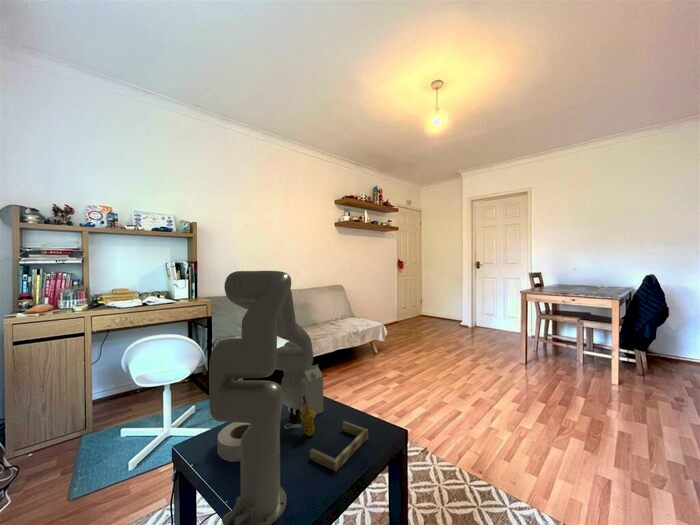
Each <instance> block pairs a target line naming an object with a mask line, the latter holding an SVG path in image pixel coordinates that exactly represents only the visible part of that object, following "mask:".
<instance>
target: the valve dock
mask: <svg viewBox="0 0 700 525" xmlns="http://www.w3.org/2000/svg"><path fill="white" fill-rule="evenodd" d="M342 431H343V432H346V433H348V434H351V435H353V436H356V437H355V438H354V439H353V440H352V441H351V442H350V443H349V444H348V446H346V448H344V449H343V450H342V451H341V452H340V453H339V454H338V455H337V456H336V458H335V457H333V456H330V455H329V454H326V453H324V452H322V451H320V450H319V449H318V450H317V449H315V448H311V449H310V450H309V459H310V460H311V461H312V462H315V463H317V464H320V465H322V466H323V467H326V468H328V470H331V471H333V472H335V473H336V472H338V470H340V468H342V466H343V465H345V463H346V462H347V461H348V460H350V459H351V457H352V456H354V454H355V453H356V452H357V451H358V450H359V449H360V448H361V446H363V444H364V443H365V442H366V441H367V440H368V439H369V429H367V428H365V427H362V426H359V425H357V424H354V423H351V422H349V421H346V420H344V421H342ZM359 447H360V448H359ZM358 448H359V449H358ZM357 449H358V450H357ZM356 450H357V451H356ZM355 451H356V452H355ZM354 452H355V453H354Z"/></svg>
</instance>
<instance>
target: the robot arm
mask: <svg viewBox="0 0 700 525" xmlns="http://www.w3.org/2000/svg"><path fill="white" fill-rule="evenodd" d="M291 287H292V277H291V276H290V274H288V273H287V272H284V271H280V270H237V271H233V272H230V274H228V276H227V277H226V279H225V281H224V287H223V288H224V293H225V295H226V297H227V299H228V300H229V301H230V302H231V303H233V304H235V305H237V306H238V307H240V308H243V309H245V310H247V311H245V312H246V313H244V315H243V317H242V319H241V338H240V337H239V338H237V337H236V338H233V337H232V338H231V337H230V338H224V339H221V340H219V341H218V342H217V343H216V344H215V345H214V347H213V349H212V351H211V354H210V357H209V363H208V364H209V365H208V377H209V378H208V388H209V389H208V390H209V391H208V392H209V393H208V394H209V396H208V398H209V400H208V401H209V402H208V403H209V411H210V412H209V413H210V416H211V417H212V419H213V420H215V421H216V422H221V423H222V422H223V423H234V422H243V423H249V424H251V425H250V426H249V427H248V428H247V429H246V431H245V432H244V434H243V436H242V438H241V443H240V461H239V462H240V464H239V465H240V469H239V470H240V495H238V496H237V497H236V503H235V505H234V506H233V509H231V510H230V511H228V512H227V513H226V514H225V515H224V516H222V518H221V522H222V525H229V524H230V523H231V522H232V521H233V524H234V525H272V524H273V523H275V522H276V521H277V520H278V519H279V518H281V516H282V515H283V513H284V511H285V509H286V505H287V493H286V492H285V490H284V488H283V487H282V486H281V441H280V440H281V431H280V430H281V418H282V412H283V411H282V409H283V406H285V407H286V408H287V412H288V414H289V423H291V424H299V422H300V420H299V419H300V414H299V413H302V412H303V411H304V410H305V405H306V404H307V389H306V382H305V379H304V370H307V369H309V368H310V367H311V366H313V363H314V352H313V343H312V338H311V337H310V335H309V334H308V332H307V331H306V330H305V329H304V328H303V327H302V326H301V325H300V324H298V322H297V320H296V313H295V307H294V300H293V292H292V288H291ZM278 338H281V339H283V340H286V342H285V343H284V345H282V346H279V347H278ZM275 370H278V371H282V372H283V377H282V378H281V385H280V384H279V383H278V382H275V381H272V380H264V379H263V380H258V379H262V378H267V377H270V376H272V375H273V374H274V372H276V371H275ZM235 379H236V380H235ZM237 379H238V380H237ZM241 379H246V380H241ZM247 379H249V380H247ZM253 379H256V380H253Z"/></svg>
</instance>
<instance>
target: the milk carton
mask: <svg viewBox="0 0 700 525" xmlns="http://www.w3.org/2000/svg"><path fill="white" fill-rule="evenodd" d="M304 379H305V382H306V389H307V404H306V405H305V407H306V406H309V407H310V409H312V410H314V411H315V413H316V416H317V415H319V414H321V413H323V412H324V375H323V373H322V371H321V369H320V367H319V364H315V365H312V366H311V367H310V368H309V369H307V370H304Z"/></svg>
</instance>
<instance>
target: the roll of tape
mask: <svg viewBox="0 0 700 525" xmlns="http://www.w3.org/2000/svg"><path fill="white" fill-rule="evenodd" d="M250 425H251V424H249V423H243V422H230V423H228V424H227V425H225V426H224V427H223V428H222V429H220V431H219V432H218V434H217V456H218V455H219V456H220V457H221V458H222V459H221V458H220V457H219V456H218V457H219V458H220V459H221V460H223V459H224V460H223V461H225V460H227V461H226V462H234V463H235V462H237V463H238V462H240V443H241V438H242V436H243V434H244V432H245V431H246V429H247V428H248V427H249V426H250Z"/></svg>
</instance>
